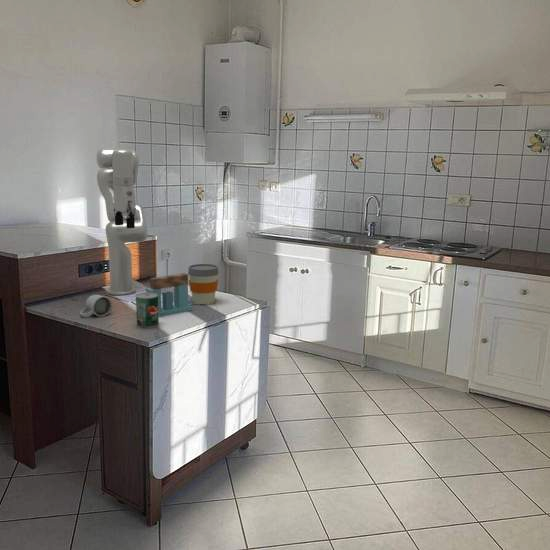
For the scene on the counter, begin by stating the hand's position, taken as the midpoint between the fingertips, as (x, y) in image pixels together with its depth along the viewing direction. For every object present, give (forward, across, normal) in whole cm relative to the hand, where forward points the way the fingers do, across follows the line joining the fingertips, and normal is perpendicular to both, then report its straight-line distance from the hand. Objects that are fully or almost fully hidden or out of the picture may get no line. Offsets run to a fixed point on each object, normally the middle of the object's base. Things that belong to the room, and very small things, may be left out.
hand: (124, 226), depth 220 cm
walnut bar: (+22, -18, -9) cm, 30 cm away
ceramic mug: (+33, -4, +15) cm, 36 cm away
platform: (+33, 0, -11) cm, 35 cm away
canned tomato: (+32, -27, +6) cm, 42 cm away
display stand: (+32, -18, -8) cm, 38 cm away
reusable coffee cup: (+32, -13, -28) cm, 45 cm away
